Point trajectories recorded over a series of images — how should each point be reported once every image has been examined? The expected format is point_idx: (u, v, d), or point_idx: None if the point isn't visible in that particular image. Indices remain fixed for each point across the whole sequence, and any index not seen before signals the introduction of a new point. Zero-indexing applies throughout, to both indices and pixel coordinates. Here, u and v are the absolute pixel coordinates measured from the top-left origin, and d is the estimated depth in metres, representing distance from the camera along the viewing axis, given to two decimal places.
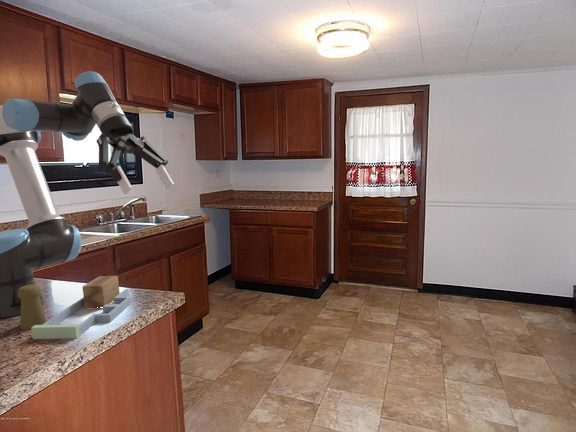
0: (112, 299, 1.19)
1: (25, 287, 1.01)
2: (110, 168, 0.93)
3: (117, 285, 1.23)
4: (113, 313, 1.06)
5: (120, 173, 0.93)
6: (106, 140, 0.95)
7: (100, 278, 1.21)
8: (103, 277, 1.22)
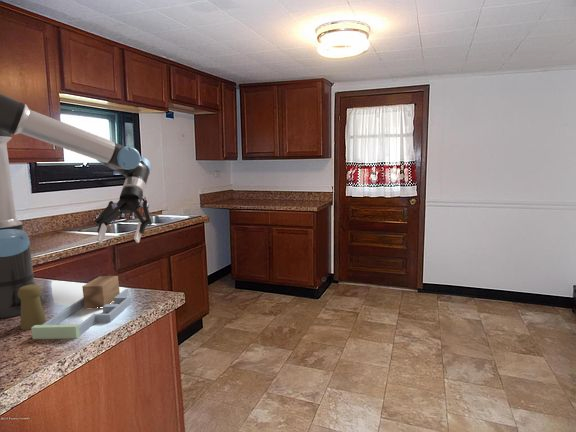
0: (112, 299, 1.19)
1: (25, 287, 1.01)
2: (145, 225, 1.34)
3: (117, 285, 1.23)
4: (113, 313, 1.06)
5: None
6: None
7: (100, 278, 1.21)
8: (103, 277, 1.22)
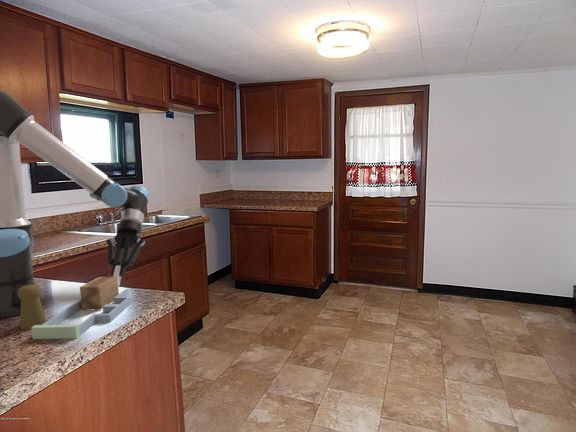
0: (110, 300, 1.18)
1: (25, 287, 1.01)
2: (126, 267, 1.28)
3: (116, 286, 1.22)
4: (113, 313, 1.06)
5: None
6: None
7: (98, 279, 1.20)
8: (102, 278, 1.21)
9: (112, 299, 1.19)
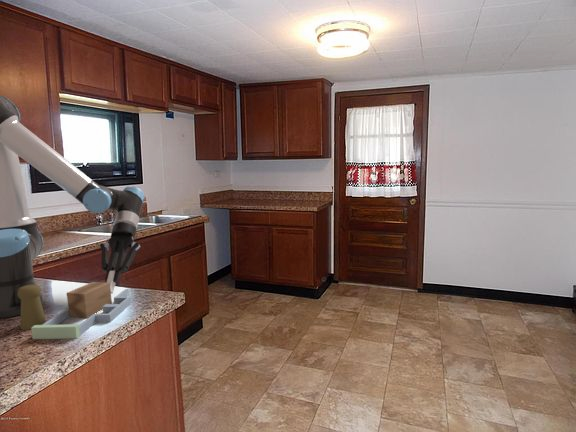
0: (99, 308, 1.12)
1: (25, 287, 1.01)
2: (120, 272, 1.22)
3: (108, 293, 1.15)
4: (113, 313, 1.06)
5: None
6: None
7: (90, 285, 1.14)
8: (95, 283, 1.16)
9: (102, 306, 1.13)
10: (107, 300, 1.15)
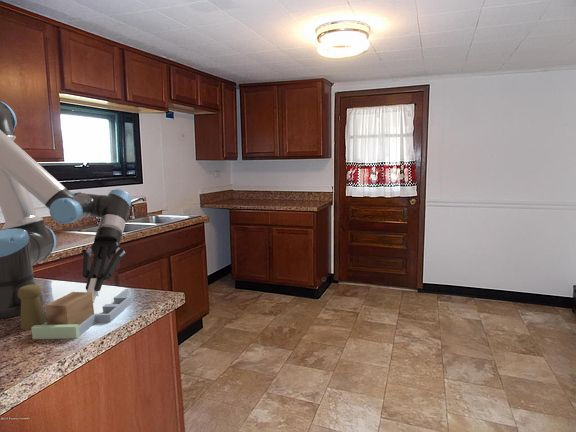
0: (82, 320, 1.04)
1: (25, 287, 1.01)
2: (102, 280, 1.14)
3: (90, 303, 1.07)
4: (113, 313, 1.06)
5: None
6: None
7: (70, 295, 1.06)
8: (75, 293, 1.07)
9: (84, 318, 1.05)
10: (89, 311, 1.07)
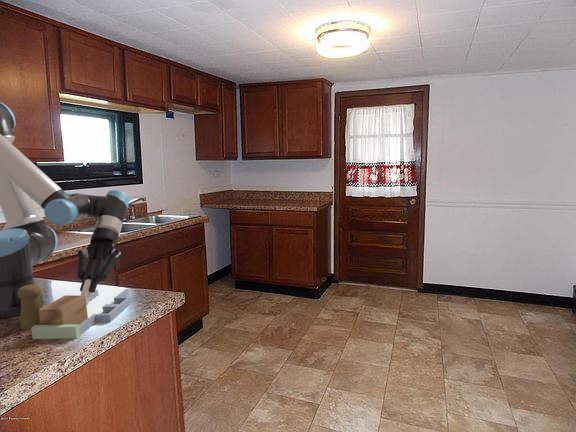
0: None
1: (25, 287, 1.01)
2: (97, 281, 1.13)
3: (84, 306, 1.05)
4: (113, 313, 1.06)
5: None
6: None
7: (63, 299, 1.03)
8: (68, 297, 1.05)
9: (79, 322, 1.03)
10: (83, 314, 1.05)
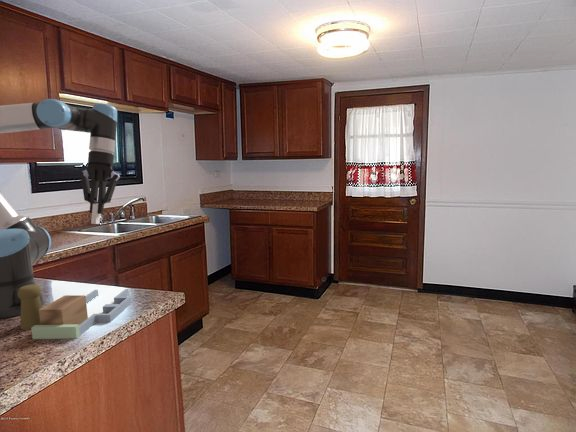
0: (76, 323, 1.02)
1: (25, 287, 1.01)
2: (103, 204, 1.27)
3: (84, 306, 1.05)
4: (113, 313, 1.06)
5: None
6: None
7: (63, 299, 1.03)
8: (68, 297, 1.05)
9: (79, 322, 1.03)
10: (83, 314, 1.05)
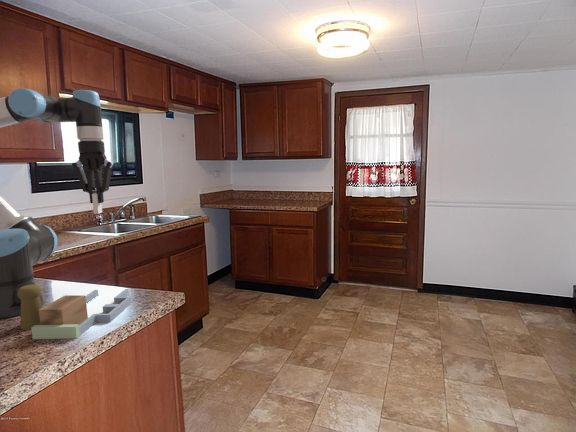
0: None
1: (25, 287, 1.01)
2: (102, 193, 1.27)
3: (84, 306, 1.05)
4: (113, 313, 1.06)
5: None
6: None
7: (63, 299, 1.03)
8: (68, 297, 1.05)
9: (79, 322, 1.03)
10: (83, 314, 1.05)
